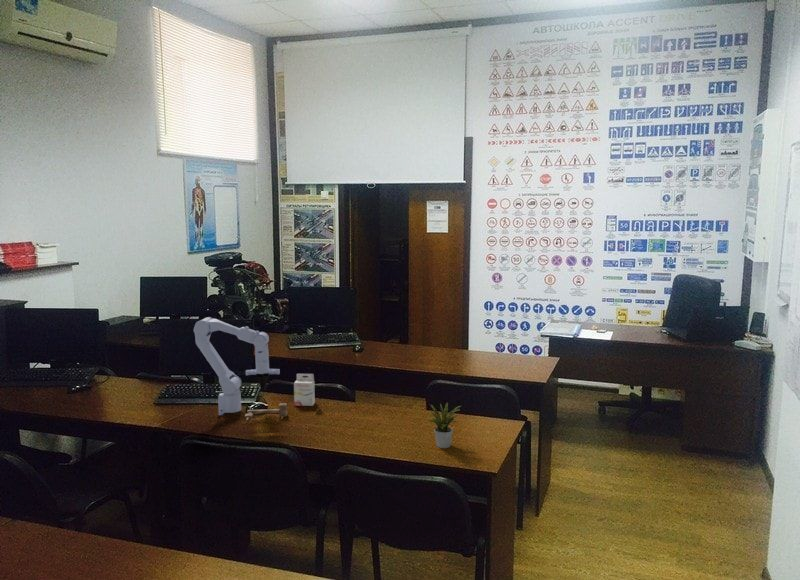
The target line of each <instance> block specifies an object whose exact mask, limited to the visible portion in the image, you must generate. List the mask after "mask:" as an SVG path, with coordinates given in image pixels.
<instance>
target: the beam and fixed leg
mask: <svg viewBox="0 0 800 580" xmlns="http://www.w3.org/2000/svg"><path fill="white" fill-rule="evenodd" d="M246 412H247V413H245V415H244V419H245V421H248V420H249V419H252V418H253V416H254V415H257V414H279V408H272V409H271V408H270V409H269V408H267V409H265V408H264V409H247V411H246Z"/></svg>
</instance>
